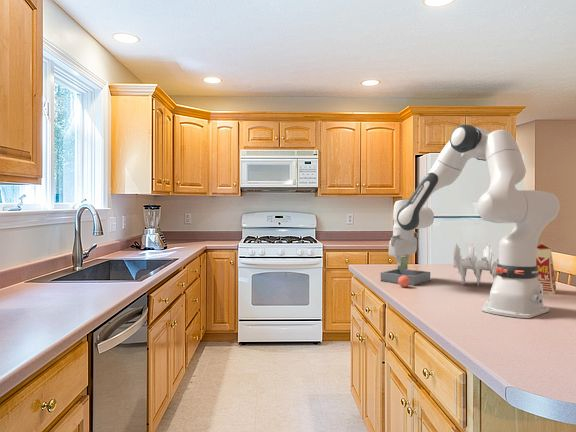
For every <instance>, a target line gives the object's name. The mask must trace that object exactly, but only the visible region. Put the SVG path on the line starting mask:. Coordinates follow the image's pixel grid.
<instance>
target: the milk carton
mask: <svg viewBox="0 0 576 432" xmlns="http://www.w3.org/2000/svg"><path fill="white" fill-rule="evenodd" d="M536 266H538V276H537V279H538V281H539V282H540V283H541V284H542V285H543V294H551V295H555V294H556V292H557V284H556V275H555V269H554V268H555V267H554V261H553V254H552V248H550V247H548V246H546V245H544V244H543V240H541V241H540V244H539V245H537V254H536Z"/></svg>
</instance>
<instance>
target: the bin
mask: <svg viewBox="0 0 576 432" xmlns="http://www.w3.org/2000/svg"><path fill="white" fill-rule="evenodd" d="M401 276H407V277H408V278H409V279H410V284H409V285H408V286H411V287H412V286H413V287H414V286H417V285H421V284H425V283H428V282H430V281H431V271H424V270H415V269H405V270H403V269H398V268H394V269H390V270H385V271H381V272H380V282H384V283H389V284H390V283H391V284H397V285H399V283H398V279H399V277H401Z"/></svg>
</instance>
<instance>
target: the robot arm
mask: <svg viewBox="0 0 576 432" xmlns="http://www.w3.org/2000/svg"><path fill="white" fill-rule="evenodd" d="M449 138H450V139H449V140H448V141H447V143H446V144H445V146H443V148H442V150H441V151H440V153H439V154H438V156H437V157H436V160H435V161H434V163H433V165H432V167H431V168H430V170H429V171H428V172H427V174H425V176H424V177H423V179H422V180H421V181H420V183H419V184H418V185H417V186H416V188H415V190H414V192H413V193H412V195H411V196H410V197H409V198H403V199H402V198H401V199H398V200H396V201H395V202H394V204H393V212H392V213H393V214H392V220H393V227H392V237H391V238H390V240H389V243H388V256H389V257H392V258H393V257H394V258H395V260H396V262H397V263H396V266H397V267H398V266H401V265H402V262H401V257H408V261H409V260H410V256H411V255H412V254H416V253H417V250H418V249H417V248H418V239H417V238H418V236H419V233H418V232H416V231H414V230H416V229H417V230H418V229H425V228H429V227H431V226H432V224H433V223H434V220H435V216H434V214H435V213H434V212H433V210H432V209H431V208H429V207H427V206H425V205H426V203H427V201H428V200H429V198H430V197H431V196H432V195H433V194H434V193H435V192H436V191H438V190H440V189H441V188H444V187H446V186H450V185H452V184H453V183H455V181H456V180H457V179H458V178H459V176H460V175H461V173H462V171H463V169H464V168H465V166H466V164H467V162H468V161H469V160H470V159H472V158H474V159H476V160H477V161H478V160H479V161H486V166H487V170H488V173H489V180H490V183H489V186H488V189H487V190H486V191H485V192H484V193H483V194H482V195H481V196H480V197H479V199H478V200H477V204H476V209H477V214H478V216H479V217H480V218H481V219H482V220H483V221H485V222H489V223H494V224H514V227H513V229H512V230H511V232H510V233H508V234H506V235H505V236H503V237H502V238H501V239H500V241H499V242H498V255H499V257H498V258H499V263H498V264H497V267H496V270H495V272H496V275H497V277H496V278H495V279H493V282H492V285H491V288H490V291H489V298H487V299H486V300H485V302H484V304H483V305H482V307H481V311H482V312H485V313H488V314H493V315H499V316H505V317H510V318H511V317H513V318H518V319H519V318H520V319H531V318H534V317H537V316H540V315H543V314H545V313H548V312H550V308H549V307H548V306H545V305H544V293H543V285H542V284H541V283H540V282H539V281H538V279H537V276H538V266H536V254H537V246H538V243H539V239H540V236H541V235H542V232H543V231H544V230H545V228H546V227H547V225H548V224H549V223H551V222H552V221H554V220H555V219H556V218H557V217H558V215H559V212H560V209H561V205H560V201H559V198H558V197H557V196H556V195H555V194H554V193H552V192H549V191H543V190H538V189H537V190H534V189H533V190H528V189H527V190H525V189H524V190H522V189H521V190H519V189H517V187H516V185H518V184H519V183H520V182H522V181H523V180H524V178H525V176H526V173H527V169H526V166H525V163H524V160H523V157H522V154H521V150H520V147H519V145H518V143H517V141H516V139H515V137H514V136H513V134H512V133H511V132H510V131H508V130H506V129H497V130H493V131H490V130H488V129H485V128H482V127H477V126H475V125H472V124H460V125H458V126H457V127H455V128H454V129H453V130H452V132H451V134H450V137H449Z"/></svg>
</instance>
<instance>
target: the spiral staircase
mask: <svg viewBox="0 0 576 432" xmlns="http://www.w3.org/2000/svg"><path fill="white" fill-rule="evenodd" d="M494 255H495V254H494V253H493V249H492V247H491V245H488V244H486V245H485V248H483V253H482V257H480V258H481V259H479V260H478V257H477V249H475V246H473V244H470V246H468V252H467V256H466V259H465V258H462V255H461V248H460V245H458V243H455V246H454V247H453V268H455V269H456V268H457V270H458V273H459V275H460V277H461V285H462V286H463V285H464V284H465V282H466V276H467V272H468V271H467V270H472V271H473V275H474V276H475V278H476V282H477V285H476V286H477V287H479V286H480V285H481V278H482V272H483V271H488V272H489V274H490V275H491V276H492V277H493V279H492V280H494V279H495V278H496V277H497V275H496V272H495V270H496V267H497V264H498V263H499V254H498V258H497V259H496V261H495V256H494Z"/></svg>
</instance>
